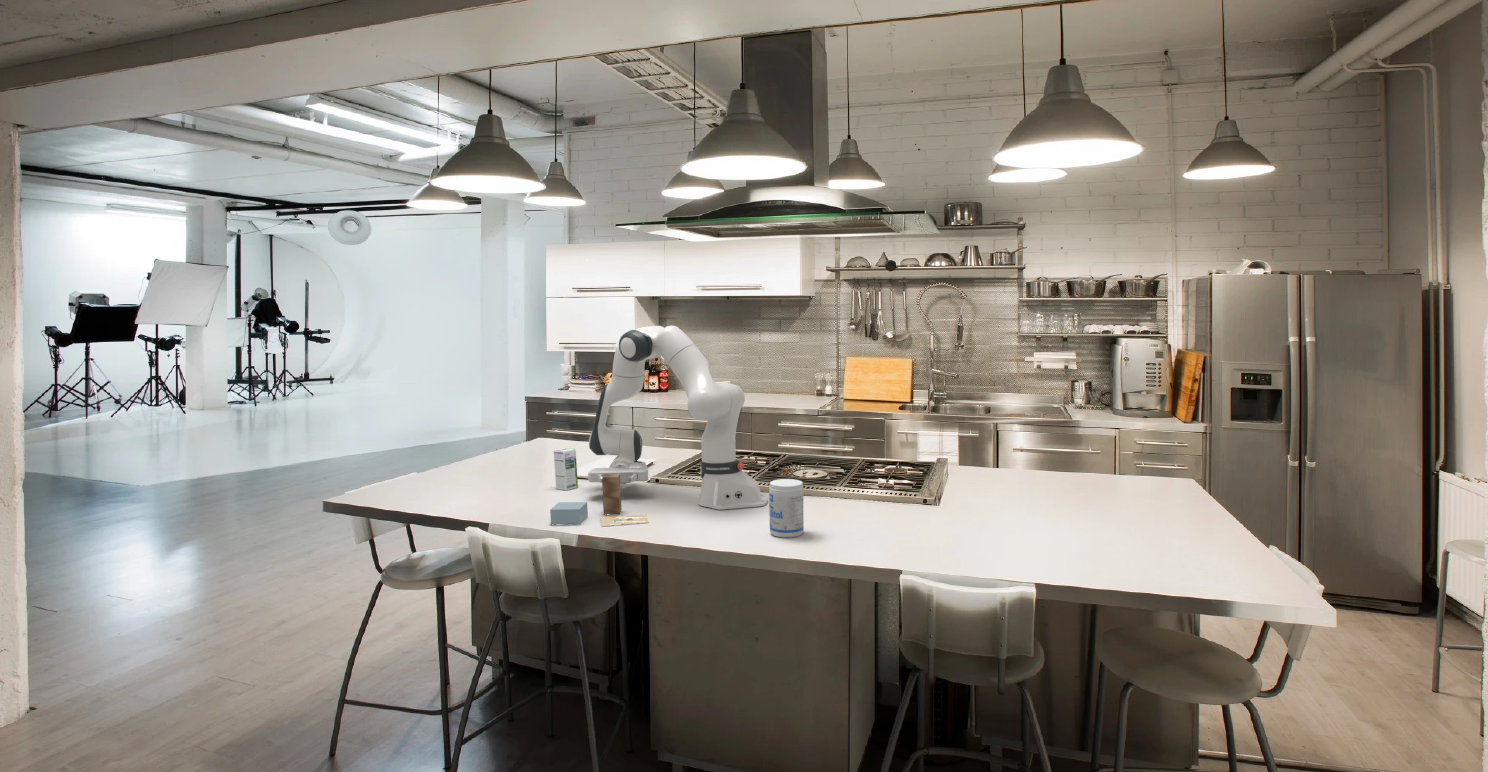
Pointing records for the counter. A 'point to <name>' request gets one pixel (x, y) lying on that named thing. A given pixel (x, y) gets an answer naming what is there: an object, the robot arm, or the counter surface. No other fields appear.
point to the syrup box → (565, 468)
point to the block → (611, 494)
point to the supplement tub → (786, 508)
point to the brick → (569, 513)
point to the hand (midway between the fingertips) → (615, 479)
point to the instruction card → (609, 521)
